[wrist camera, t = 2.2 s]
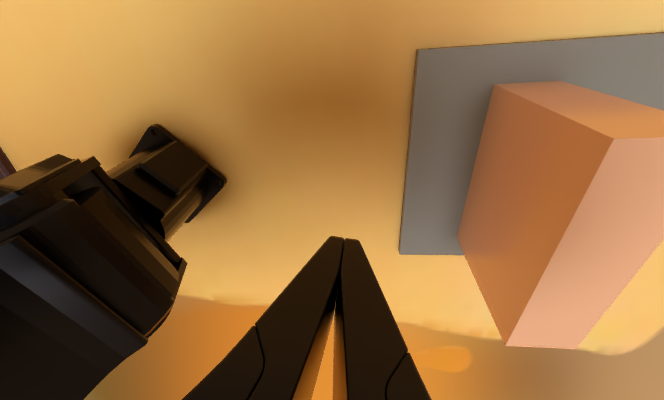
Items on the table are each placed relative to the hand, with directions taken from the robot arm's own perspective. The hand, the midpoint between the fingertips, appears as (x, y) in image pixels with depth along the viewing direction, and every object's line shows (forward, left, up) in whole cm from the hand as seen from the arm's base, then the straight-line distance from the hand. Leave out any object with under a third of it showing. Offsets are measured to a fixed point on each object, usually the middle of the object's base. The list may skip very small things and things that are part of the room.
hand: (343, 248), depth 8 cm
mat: (+8, -12, -13) cm, 19 cm away
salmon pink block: (+5, -10, -8) cm, 13 cm away
